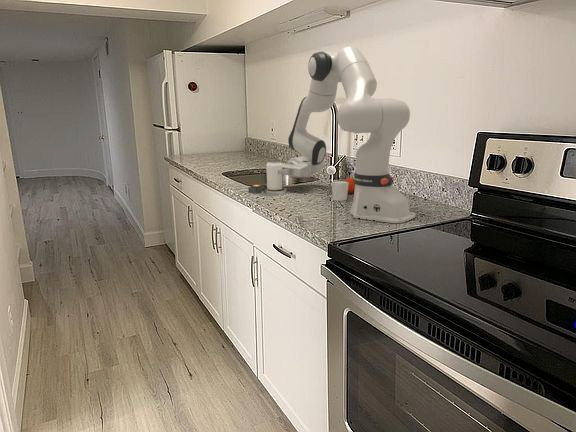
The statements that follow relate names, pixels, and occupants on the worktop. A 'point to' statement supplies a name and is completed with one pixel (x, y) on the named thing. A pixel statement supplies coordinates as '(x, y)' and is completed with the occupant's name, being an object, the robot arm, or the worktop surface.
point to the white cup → (339, 190)
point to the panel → (261, 191)
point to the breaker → (256, 186)
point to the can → (274, 175)
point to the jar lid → (276, 191)
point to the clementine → (350, 184)
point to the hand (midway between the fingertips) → (274, 171)
